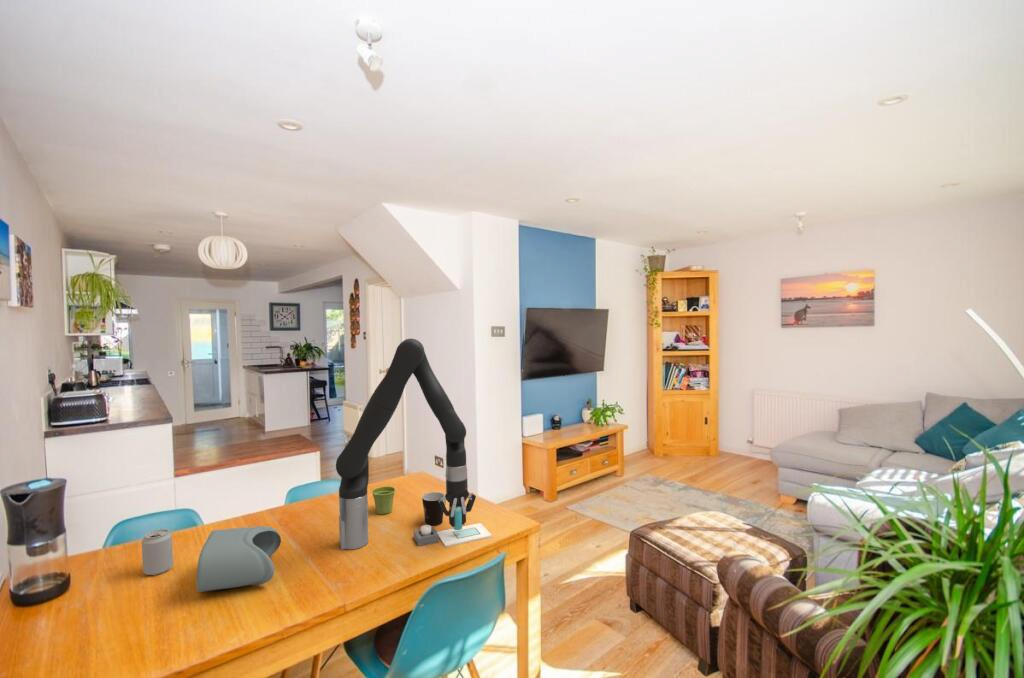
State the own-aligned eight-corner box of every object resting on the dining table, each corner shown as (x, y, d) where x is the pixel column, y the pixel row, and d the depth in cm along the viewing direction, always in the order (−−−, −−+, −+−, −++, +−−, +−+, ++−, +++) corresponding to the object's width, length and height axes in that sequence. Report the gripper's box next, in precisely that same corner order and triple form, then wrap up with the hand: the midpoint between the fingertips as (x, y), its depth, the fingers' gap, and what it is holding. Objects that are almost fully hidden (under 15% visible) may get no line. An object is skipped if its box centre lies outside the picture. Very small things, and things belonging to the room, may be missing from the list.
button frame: (418, 546, 162) (418, 538, 162) (413, 537, 168) (413, 530, 168) (438, 541, 165) (438, 534, 165) (433, 533, 171) (433, 526, 171)
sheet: (445, 547, 161) (445, 545, 161) (436, 533, 171) (436, 531, 171) (491, 536, 168) (491, 535, 168) (480, 524, 178) (480, 522, 178)
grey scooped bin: (214, 564, 151) (215, 524, 150) (280, 555, 158) (281, 517, 157) (195, 603, 130) (196, 556, 130) (273, 591, 137) (274, 547, 137)
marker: (454, 530, 166) (454, 508, 166) (451, 527, 169) (451, 505, 169) (463, 529, 168) (463, 506, 167) (460, 525, 171) (460, 503, 170)
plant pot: (367, 515, 188) (366, 493, 187) (380, 505, 197) (379, 485, 196) (388, 517, 185) (387, 495, 185) (400, 508, 194) (400, 487, 194)
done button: (422, 538, 164) (422, 530, 164) (419, 534, 167) (419, 526, 167) (432, 536, 166) (432, 528, 166) (429, 532, 169) (429, 524, 169)
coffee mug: (443, 527, 176) (443, 500, 176) (420, 527, 177) (419, 500, 176) (448, 514, 188) (447, 489, 188) (426, 514, 188) (426, 489, 188)
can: (138, 578, 143) (136, 539, 142) (149, 566, 150) (148, 528, 150) (167, 575, 145) (165, 536, 144) (177, 562, 152) (175, 525, 152)
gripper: (440, 483, 161) (441, 533, 162) (479, 476, 167) (480, 525, 168) (434, 476, 168) (435, 524, 169) (471, 470, 174) (472, 517, 175)
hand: (457, 524), depth 169 cm, fingers closed on marker, 3 cm apart
